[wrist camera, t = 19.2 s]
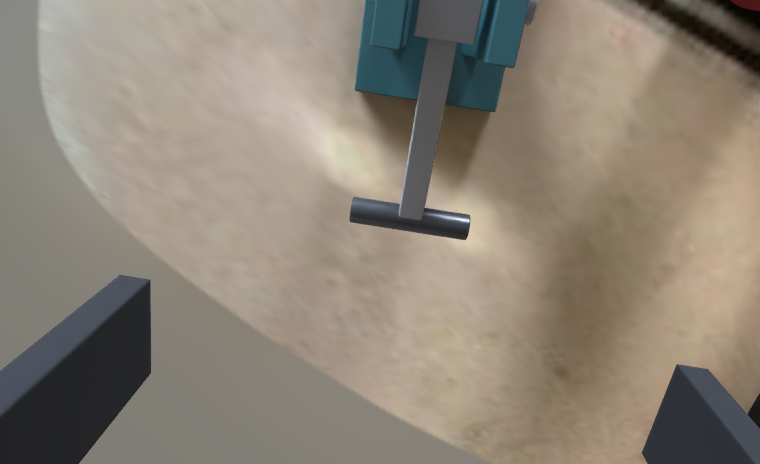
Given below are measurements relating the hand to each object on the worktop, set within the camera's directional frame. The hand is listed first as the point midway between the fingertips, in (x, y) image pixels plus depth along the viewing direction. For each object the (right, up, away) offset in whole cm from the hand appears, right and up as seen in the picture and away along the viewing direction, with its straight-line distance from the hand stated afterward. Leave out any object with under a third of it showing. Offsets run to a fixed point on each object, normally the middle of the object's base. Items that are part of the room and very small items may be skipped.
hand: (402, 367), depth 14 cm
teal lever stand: (+3, +16, +16) cm, 23 cm away
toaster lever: (+2, +9, +10) cm, 13 cm away
